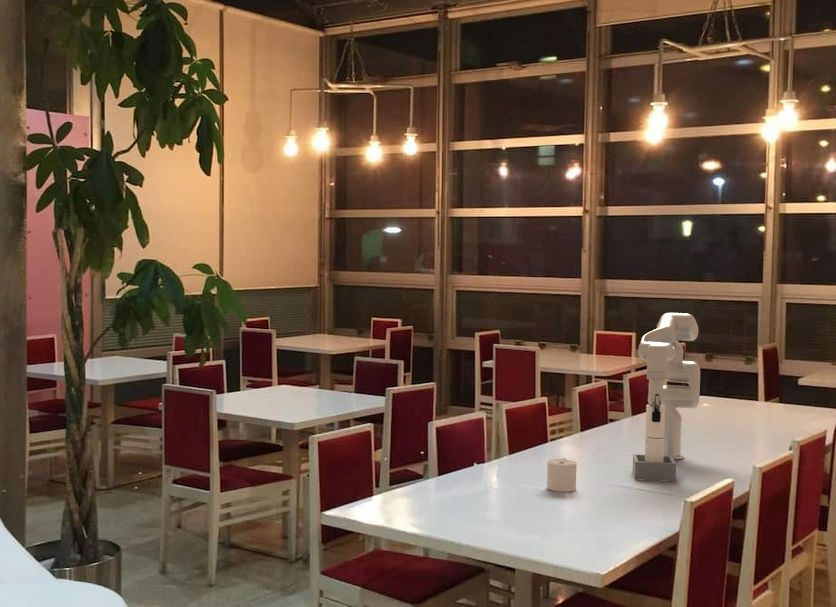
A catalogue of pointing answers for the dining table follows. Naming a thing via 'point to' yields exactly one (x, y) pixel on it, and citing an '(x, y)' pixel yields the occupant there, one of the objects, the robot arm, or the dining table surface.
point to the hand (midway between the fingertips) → (655, 419)
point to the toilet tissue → (561, 475)
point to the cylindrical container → (654, 436)
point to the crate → (654, 468)
